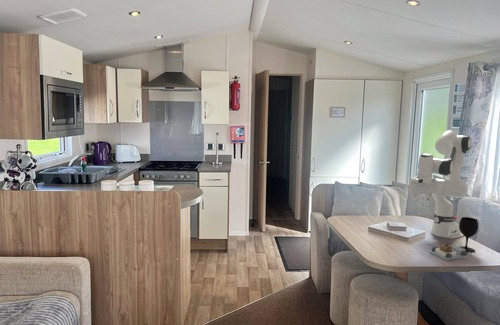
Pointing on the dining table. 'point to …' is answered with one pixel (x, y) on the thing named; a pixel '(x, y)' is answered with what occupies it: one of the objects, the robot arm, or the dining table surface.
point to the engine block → (446, 248)
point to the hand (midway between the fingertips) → (422, 200)
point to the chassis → (450, 253)
